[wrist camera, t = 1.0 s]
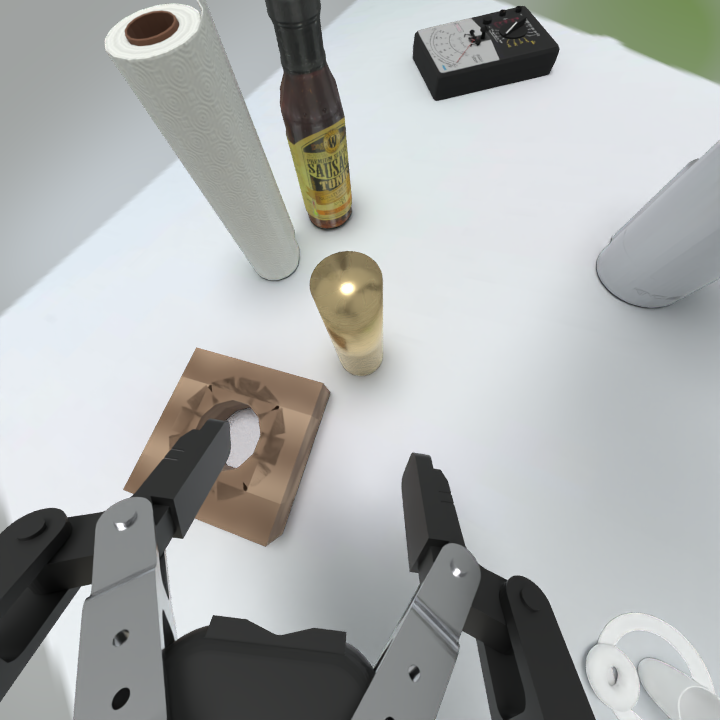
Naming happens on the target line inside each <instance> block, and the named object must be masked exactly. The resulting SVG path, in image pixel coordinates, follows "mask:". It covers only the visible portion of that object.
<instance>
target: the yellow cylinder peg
mask: <svg viewBox="0 0 720 720" xmlns="http://www.w3.org/2000/svg"><path fill="white" fill-rule="evenodd" d="M310 291H311V294H312V297H313V299H314V301H315V303H316V306H317V308H318V310H319V313H320V315H321V317H322V319H323V322H324V324H325V326H326V329H327V331H328V333H329V336H330V338H331V340H332V342H333V345H334V347H335V349H336V352H337V354H338V356H339V359H340V361H341V363H342V365H343V367H344V368H345V369H346V370H347V371H348V372H349V373H351V374H353V375H357V376H364V375H368V374H371V373H373V372H374V371H375V370H377V369H378V367H379V366H380V364H381V362H382V358H383V278H382V273H381V270H380V268H379V266H378V265H377V263H376V262H375V261H374V260H373V259H371V258H370V257H369V256H367V255H365V254H362V253H359V252H353V251H344V252H338V253H335V254H332V255H330V256H328V257H326V258H325V259H323V260H322V261H321V262H320V263H319V264H318V265H317V266H316V268H315V269H314V271H313V273H312V275H311V278H310Z"/></svg>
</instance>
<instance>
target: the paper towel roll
mask: <svg viewBox="0 0 720 720" xmlns="http://www.w3.org/2000/svg"><path fill="white" fill-rule="evenodd" d="M197 2H198V4H199V6H200V9H201V11H202V15H200V13H199V11H197V10H196V9H194V8H192V7H191V6H189V5H182V4H164V5H156V6H153V7H150V8H146V9H143V10H140V11H138V12H136V13H134V14H132V15H130V16H128V17H126V18H124V19H123V20H121V21H120V22H119V23H118V24H117V25H115V26H114V27H113V28H112V29H111V30H110V32H109V34H108V35H107V37H106V38H105V50H106V52H107V53H108V55H109V56H110V58H111V59H112V61H113V62H114V64H115V65H116V67H117V68H118V70H119V71H120V73H121V74H122V75H123V77H124V78H125V80H126V81H127V83H128V84H129V86H130V87H131V89H132V90H133V92H134V93H135V95H136V96H137V97H138V99H139V101H140V102H141V103H142V105H143V106H144V108H145V109H146V111H147V112H148V114H149V115H150V117H151V118H152V120H153V121H154V123H155V124H156V125H157V127H158V128H159V130H160V131H161V133H162V134H163V136H164V137H165V139H166V140H167V141H168V143H169V145H170V146H171V147H172V149H173V151H174V152H175V153H176V155H177V156H178V158H179V159H180V161H181V162H182V164H183V165H184V167H185V168H186V170H187V171H188V173H189V174H190V176H191V177H192V178H193V180H194V181H195V183H196V184H197V186H198V187H199V189H200V190H201V192H202V193H203V195H204V196H205V198H206V199H207V201H208V202H209V203H210V205H211V206H212V208H213V209H214V211H215V212H216V214H217V215H218V217H219V218H220V220H221V221H222V223H223V224H224V226H225V227H226V228H227V230H228V231H229V233H230V234H231V236H232V237H233V239H234V240H235V242H236V243H237V245H238V246H239V248H240V249H241V251H242V252H243V253H244V255H245V256H246V258H247V259H248V261H249V262H250V264H251V265H252V267H253V268H254V270H255V271H256V272H257V273H258V274H259V275H260V276H261V277H263V278H265V279H268V280H279V279H282V278H285V277H287V276H289V275H290V274H291V273H292V272H294V270H295V269H296V267H297V266H298V261H299V247H298V245H297V242H296V240H295V236H294V234H295V230H294V228H293V225H292V222H291V220H290V217H289V215H288V212H287V210H286V207H285V204H284V202H283V199H282V197H281V194H280V191H279V189H278V186H277V184H276V181H275V179H274V176H273V173H272V171H271V168H270V166H269V163H268V160H267V158H266V155H265V153H264V150H263V148H262V145H261V142H260V140H259V137H258V135H257V132H256V129H255V127H254V124H253V122H252V119H251V117H250V114H249V111H248V109H247V106H246V104H245V101H244V98H243V96H242V93H241V91H240V88H239V86H238V83H237V81H236V78H235V75H234V73H233V70H232V68H231V65H230V63H229V60H228V57H227V55H226V52H225V50H224V47H223V44H222V42H221V39H220V37H219V34H218V32H217V29H216V26H215V24H214V21H213V19H212V16H211V13H210V11H209V8H208V6H207V3H206V0H197Z"/></svg>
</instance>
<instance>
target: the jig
mask: <svg viewBox="0 0 720 720" xmlns="http://www.w3.org/2000/svg"><path fill="white" fill-rule="evenodd" d="M329 395H330V391H329V390H328V389H327V388H326V386H325V385H324V384H323V383H321V382H317V381H314V380H310V379H307V378H303V377H299V376H296V375H292V374H289V373H285V372H282V371H278V370H275V369H271V368H267V367H264V366H260V365H257V364H253V363H250V362H246V361H243V360H239V359H236V358H232V357H228V356H225V355H221V354H218V353H214V352H211V351H207V350H204V349H200V348H196V349H195V351H194V353H193V355H192V357H191V359H190V361H189V363H188V365H187V367H186V369H185V371H184V373H183V374H182V376H181V378H180V380H179V382H178V384H177V386H176V388H175V390H174V392H173V394H172V396H171V398H170V400H169V402H168V404H167V406H166V407H165V409H164V411H163V413H162V415H161V417H160V419H159V421H158V423H157V425H156V427H155V429H154V431H153V433H152V435H151V437H150V439H149V440H148V442H147V444H146V446H145V448H144V450H143V452H142V454H141V456H140V458H139V460H138V462H137V464H136V466H135V468H134V470H133V472H132V474H131V475H130V477H129V479H128V481H127V483H126V485H125V487H124V489H123V490H125V491H128V492H130V493H133V494H134V493H135V492H136V491H137V490H138V489H139V487H140V486H141V485H142V484H143V482H144V481H145V480H146V479H147V478H148V476H149V475H150V474H151V473H152V471H153V470H154V469H155V468H156V467H157V465H158V464H159V463H160V462H161V460H162V459H164V457H165V455H166V454H167V453H168V452H169V451H170V450H171V449H172V447H173V446H174V444H175V443H176V442H177V441H178V440H179V438H180V437H182V436H183V435H185V434H186V433H188V432H189V431H191V430H192V429H196V430H200V429H201V428H202V426H203V425H204V424H205V423H206V421H207V420H208V419H216V420H222V421H225V420H227V419H228V418H229V417H230V416H231V415H232V414H233V413H235V412H236V411H238V410H242V409H246V408H250V407H251V408H252V410H253V411H254V412H255V414H256V415H257V416H258V417H259V426H260V435H261V436H260V438H259V441H258V443H257V446H256V448H255V451H254V453H253V455H251V456H250V457H249V458H248V459H247V460H246V461H245V462H244V463H243V464H242V465H241V466H239V467H238V468H233V467H230V466H228V465H226V463H225V465H224V467H223V469H222V470H221V472H220V474H219V476H218V477H217V479H216V481H215V483H214V485H213V486H212V488H211V490H210V492H209V493H208V495H207V497H206V499H205V501H204V502H203V504H202V506H201V508H200V509H199V511H198V513H197V515H196V517H195V519H198V520H200V521H203V522H205V523H208V524H210V525H213V526H215V527H218V528H220V529H223V530H225V531H228V532H230V533H233V534H235V535H238V536H240V537H243V538H245V539H248V540H250V541H253V542H255V543H258V544H260V545H263V546H265V547H266V546H267V545H268V544H270V543H271V542H272V541H274V540H275V539H276V538H278V537H279V536H280V535H282V534H283V531H284V528H285V525H286V522H287V519H288V516H289V513H290V510H291V507H292V504H293V501H294V498H295V496H296V493H297V490H298V487H299V484H300V481H301V478H302V475H303V472H304V469H305V466H306V463H307V460H308V457H309V454H310V451H311V448H312V445H313V442H314V439H315V437H316V434H317V431H318V428H319V425H320V422H321V419H322V416H323V413H324V410H325V407H326V404H327V401H328V398H329Z"/></svg>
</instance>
